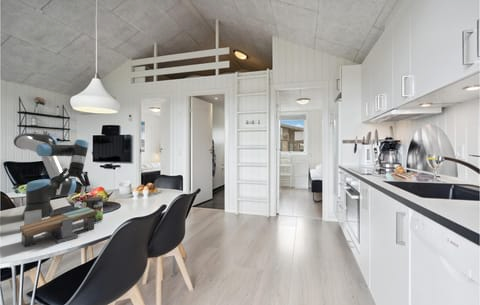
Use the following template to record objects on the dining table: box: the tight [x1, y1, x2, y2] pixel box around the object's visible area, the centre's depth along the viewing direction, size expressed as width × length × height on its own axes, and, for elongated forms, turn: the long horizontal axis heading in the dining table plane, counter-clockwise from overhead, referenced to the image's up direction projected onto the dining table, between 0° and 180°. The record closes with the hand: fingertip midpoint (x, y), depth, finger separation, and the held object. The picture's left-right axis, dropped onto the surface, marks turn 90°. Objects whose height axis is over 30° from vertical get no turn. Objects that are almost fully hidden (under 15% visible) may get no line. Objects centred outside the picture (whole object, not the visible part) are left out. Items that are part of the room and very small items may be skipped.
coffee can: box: [82, 196, 104, 224], centre depth 134 cm, size 10×10×14 cm
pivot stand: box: [21, 212, 95, 248], centre depth 112 cm, size 20×28×10 cm
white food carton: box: [23, 210, 43, 226], centre depth 121 cm, size 4×7×10 cm, turn 138°
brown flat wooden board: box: [19, 207, 97, 238], centre depth 112 cm, size 15×28×2 cm, turn 144°
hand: (70, 195), depth 138 cm, fingers open, 13 cm apart
